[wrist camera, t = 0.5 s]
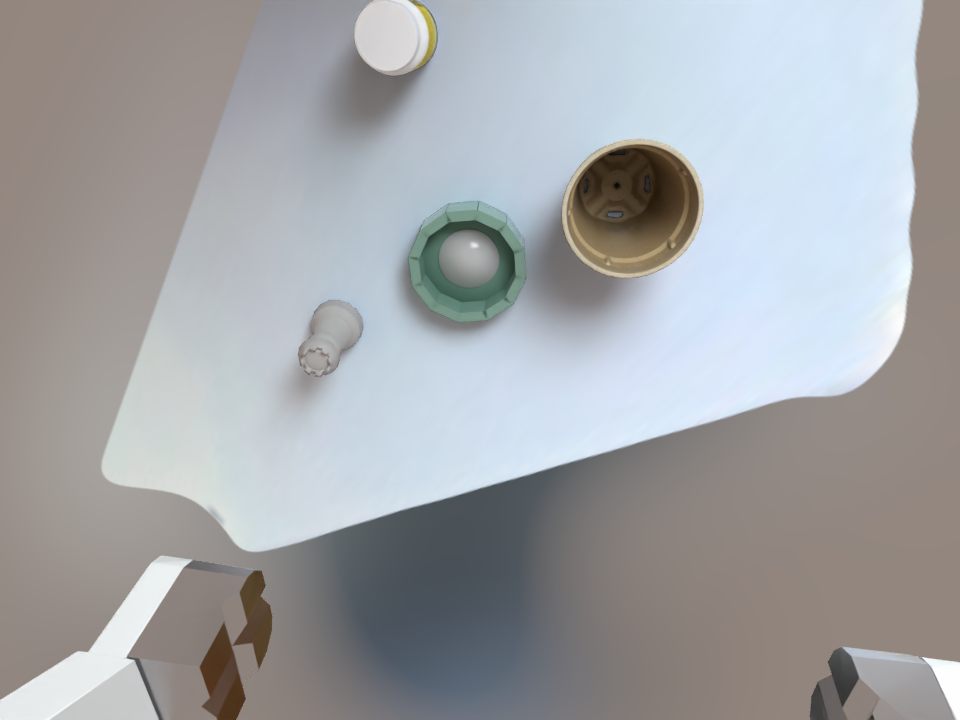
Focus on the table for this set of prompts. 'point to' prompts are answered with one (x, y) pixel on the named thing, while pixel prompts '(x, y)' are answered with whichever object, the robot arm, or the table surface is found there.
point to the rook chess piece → (330, 336)
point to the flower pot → (632, 208)
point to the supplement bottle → (395, 36)
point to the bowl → (468, 261)
